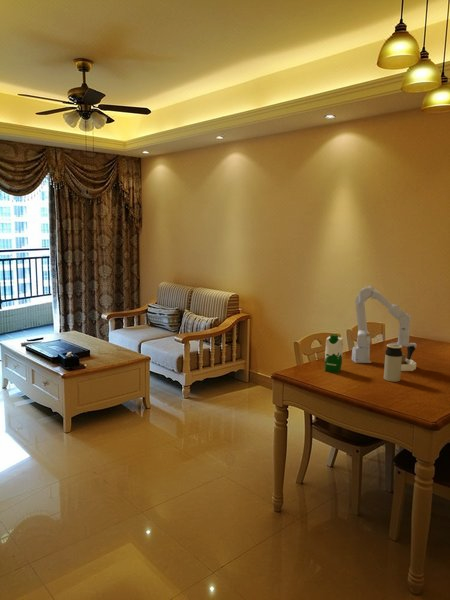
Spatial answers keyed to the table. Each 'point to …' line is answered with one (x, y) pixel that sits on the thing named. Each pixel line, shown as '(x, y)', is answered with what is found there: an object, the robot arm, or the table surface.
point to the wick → (403, 358)
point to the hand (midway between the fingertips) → (401, 359)
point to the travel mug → (393, 363)
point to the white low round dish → (408, 365)
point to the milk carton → (333, 353)
